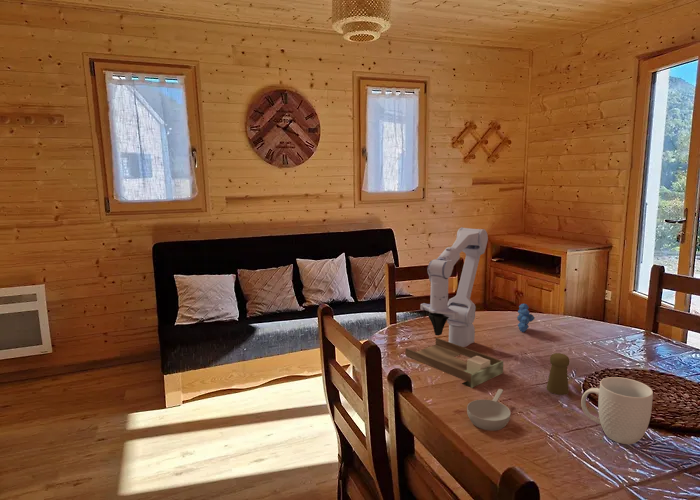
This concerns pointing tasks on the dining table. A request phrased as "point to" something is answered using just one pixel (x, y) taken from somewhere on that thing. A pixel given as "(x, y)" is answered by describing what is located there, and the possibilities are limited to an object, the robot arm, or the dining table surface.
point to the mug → (622, 408)
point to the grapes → (524, 317)
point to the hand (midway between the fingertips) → (438, 334)
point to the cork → (558, 374)
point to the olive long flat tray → (456, 362)
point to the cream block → (477, 364)
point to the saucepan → (489, 413)
